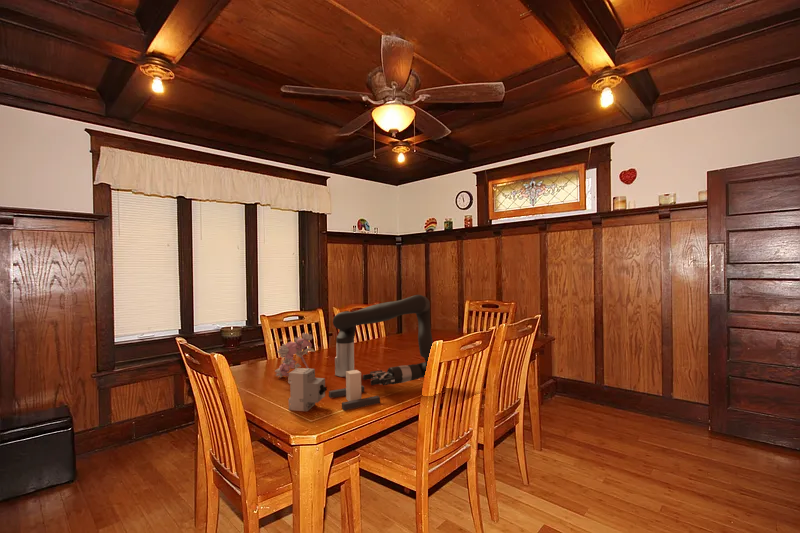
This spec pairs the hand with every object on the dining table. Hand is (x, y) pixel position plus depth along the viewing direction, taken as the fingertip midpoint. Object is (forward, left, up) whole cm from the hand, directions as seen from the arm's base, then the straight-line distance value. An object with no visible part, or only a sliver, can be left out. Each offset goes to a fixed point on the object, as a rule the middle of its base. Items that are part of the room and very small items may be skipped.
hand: (366, 380), depth 169 cm
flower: (-49, +17, -8) cm, 52 cm away
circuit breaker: (-19, -18, -8) cm, 27 cm away
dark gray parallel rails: (-4, -4, -7) cm, 10 cm away
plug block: (-4, -4, -7) cm, 10 cm away
